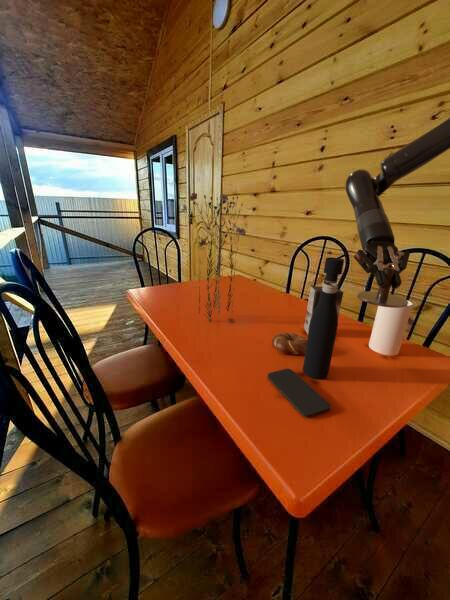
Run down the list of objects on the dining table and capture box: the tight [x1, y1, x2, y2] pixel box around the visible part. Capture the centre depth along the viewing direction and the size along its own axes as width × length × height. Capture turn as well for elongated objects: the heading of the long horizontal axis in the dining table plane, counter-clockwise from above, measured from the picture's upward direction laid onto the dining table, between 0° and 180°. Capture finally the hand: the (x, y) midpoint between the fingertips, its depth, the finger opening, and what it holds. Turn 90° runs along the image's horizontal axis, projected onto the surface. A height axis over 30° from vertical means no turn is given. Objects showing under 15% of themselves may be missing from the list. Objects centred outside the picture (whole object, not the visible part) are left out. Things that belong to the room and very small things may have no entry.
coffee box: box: [303, 285, 344, 335], centre depth 87 cm, size 9×6×16 cm
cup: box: [368, 299, 414, 357], centre depth 77 cm, size 8×8×16 cm
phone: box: [267, 368, 332, 418], centre depth 59 cm, size 7×1×15 cm
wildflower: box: [189, 192, 246, 323], centre depth 91 cm, size 22×23×45 cm
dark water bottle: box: [302, 257, 345, 381], centre depth 62 cm, size 6×6×30 cm
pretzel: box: [271, 332, 307, 356], centre depth 78 cm, size 12×11×4 cm
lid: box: [356, 267, 409, 308], centre depth 63 cm, size 11×11×8 cm
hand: (390, 286), depth 61 cm, fingers closed on lid, 2 cm apart
